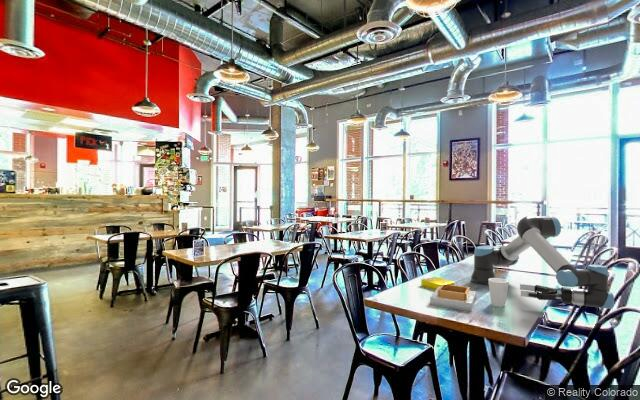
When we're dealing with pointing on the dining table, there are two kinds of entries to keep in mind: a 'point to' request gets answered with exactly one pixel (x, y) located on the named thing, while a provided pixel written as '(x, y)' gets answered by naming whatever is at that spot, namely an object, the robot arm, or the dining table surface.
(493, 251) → the robot arm
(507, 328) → the dining table surface
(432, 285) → the element tile
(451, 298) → the wooden box on base
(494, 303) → the foam cup
